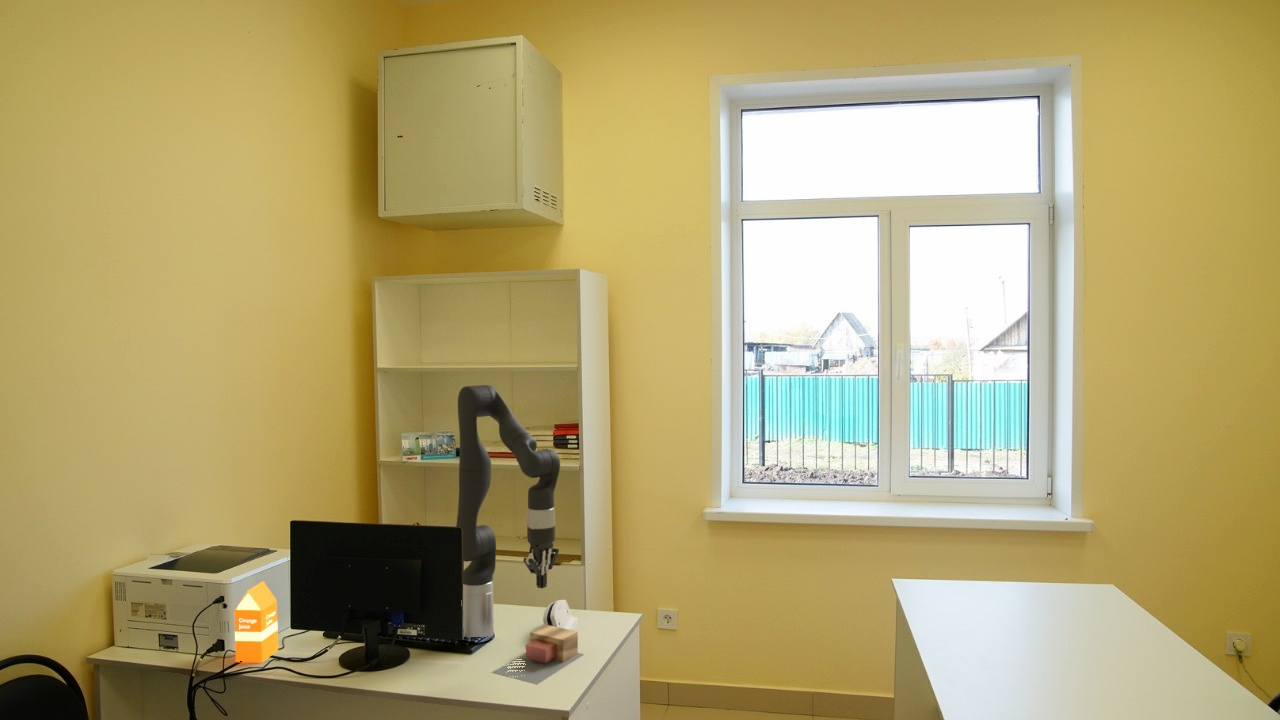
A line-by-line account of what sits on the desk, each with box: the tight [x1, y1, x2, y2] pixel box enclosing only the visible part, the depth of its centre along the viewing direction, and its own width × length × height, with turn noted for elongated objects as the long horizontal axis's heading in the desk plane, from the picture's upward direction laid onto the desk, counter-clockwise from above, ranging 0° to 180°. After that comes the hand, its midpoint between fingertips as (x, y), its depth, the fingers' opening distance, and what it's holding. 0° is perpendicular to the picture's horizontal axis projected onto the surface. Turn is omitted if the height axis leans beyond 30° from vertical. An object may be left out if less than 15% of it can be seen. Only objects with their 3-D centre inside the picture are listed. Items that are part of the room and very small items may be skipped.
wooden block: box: [529, 624, 579, 663], centre depth 229 cm, size 11×7×6 cm, turn 60°
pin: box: [525, 639, 557, 663], centre depth 228 cm, size 15×7×5 cm, turn 150°
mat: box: [491, 652, 585, 685], centre depth 223 cm, size 15×22×1 cm
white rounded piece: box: [542, 599, 579, 631], centre depth 246 cm, size 17×5×10 cm, turn 171°
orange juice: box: [234, 581, 279, 664], centre depth 229 cm, size 8×9×20 cm
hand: (541, 587), depth 220 cm, fingers closed
